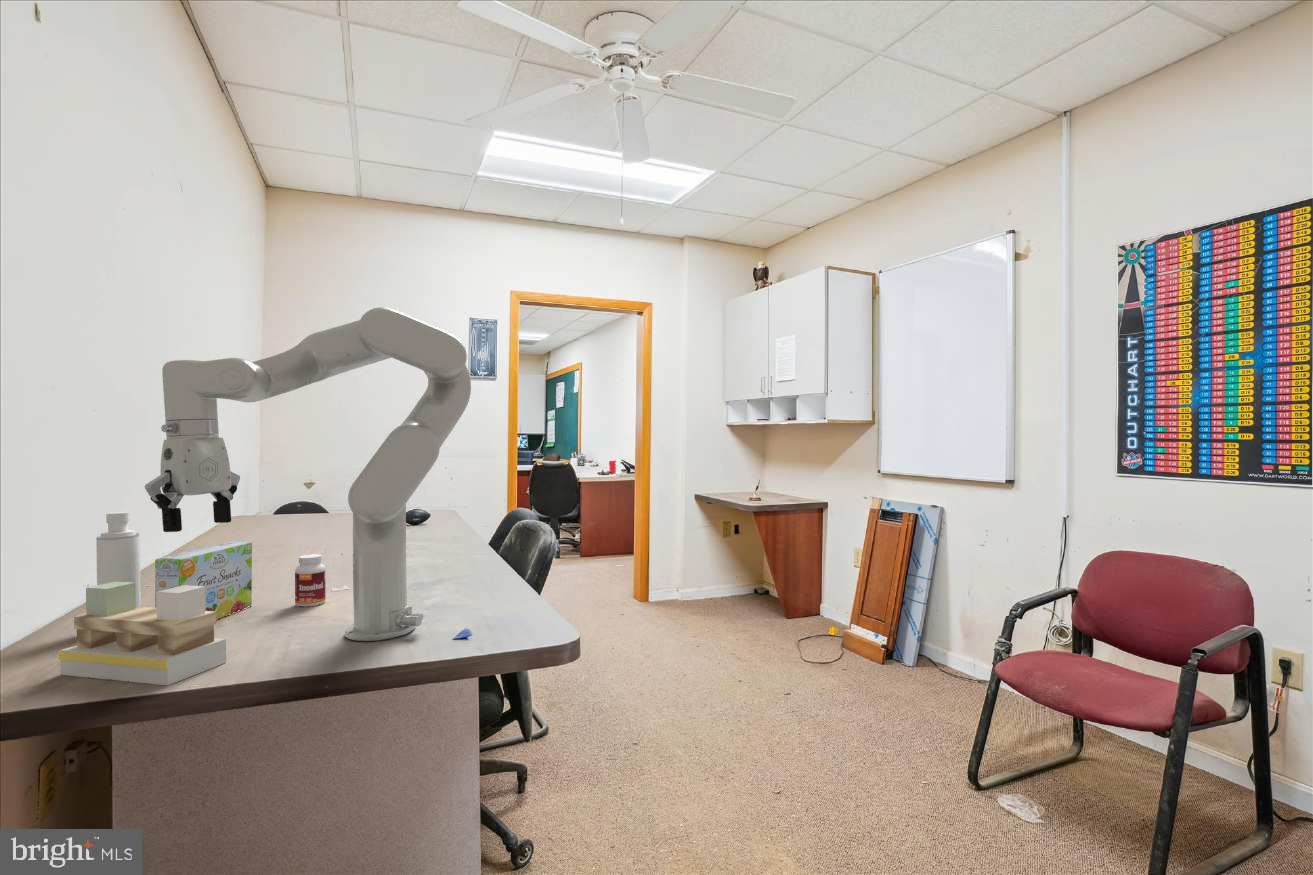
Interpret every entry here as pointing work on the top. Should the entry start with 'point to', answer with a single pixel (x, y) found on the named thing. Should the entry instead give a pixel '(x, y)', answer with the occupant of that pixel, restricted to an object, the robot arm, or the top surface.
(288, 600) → the top surface
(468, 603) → the top surface
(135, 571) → the white tall bottle
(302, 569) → the pill bottle
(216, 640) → the block
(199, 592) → the block
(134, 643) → the pallet
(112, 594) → the block
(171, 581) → the snack box
